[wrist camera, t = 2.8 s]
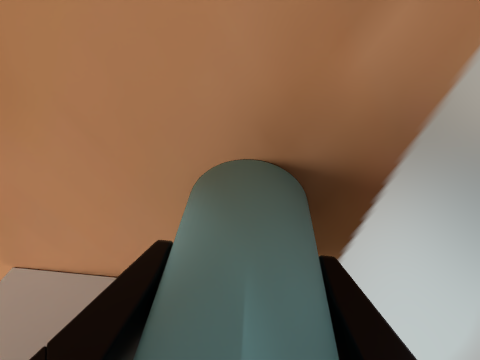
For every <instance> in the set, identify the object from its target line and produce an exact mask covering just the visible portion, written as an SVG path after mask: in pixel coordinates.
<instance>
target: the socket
mask: <svg viewBox="0 0 480 360" xmlns="http://www.w3.org/2000/svg"><path fill="white" fill-rule="evenodd" d="M115 279H116V278H113V277H103V276H93V275H83V274H73V273H63V272H52V271H42V270H32V269H22V268H12V269H11V270H10V271H9V272H8V273H7V274H6V275H5V277H4V278H3V279H2V280H1V281H0V360H29V359H30V358H31V357H33V356H34V355H35V354H36V353H37V352H38V351H39V350H40V349H41V348H42V347H43V346H46V347H47V343H48V342H49V341H50V340H51V339H52V338H53V337H54V336H55V335H56V334H57V333H58V332H60V331H61V330H62V329H63V328H64V327H65V326H66V325H67V324H68V323H69V322H70V321H71V320H72V319H73V318H75V317H76V316H77V315H78V314H79V313H80V312H81V311H82V310H83V309H84V308H85V307H86V306H87V305H88V304H90V303H91V302H92V301H93V300H94V299H95V298H96V297H97V296H98V295H99V294H100V293H101V292H102V291H103V290H105V289H106V288H107V287H108V286H109V285H110V284H111V283H112V282H113V281H114V280H115Z"/></svg>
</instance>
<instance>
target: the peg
mask: <svg viewBox="0 0 480 360" xmlns="http://www.w3.org/2000/svg"><path fill="white" fill-rule="evenodd" d="M133 360H339V357H338V352H337V347H336V342H335V337H334V332H333V327H332V322H331V317H330V312H329V306H328V301H327V296H326V291H325V286H324V281H323V276H322V271H321V266H320V261H319V256H318V251H317V246H316V241H315V236H314V231H313V226H312V221H311V216H310V211H309V206H308V201H307V197H306V194H305V191H304V190H303V188H302V186H301V185H300V183H299V182H298V181H297V180H296V179H295V178H294V177H293V176H292V175H291V174H289V173H288V172H287V171H285V170H284V169H282V168H280V167H278V166H276V165H273V164H271V163H267V162H263V161H258V160H234V161H229V162H226V163H222V164H219V165H217V166H215V167H213V168H211V169H210V170H208V171H207V172H206V173H204V174H203V175H202V176H201V177H200V178H199V179H198V180H197V182H196V183H195V185H194V186H193V188H192V191H191V193H190V196H189V199H188V202H187V205H186V208H185V211H184V214H183V217H182V220H181V222H180V225H179V228H178V231H177V234H176V237H175V240H174V243H173V246H172V249H171V251H170V254H169V257H168V260H167V263H166V266H165V269H164V272H163V275H162V278H161V281H160V283H159V286H158V289H157V292H156V295H155V298H154V301H153V304H152V307H151V310H150V313H149V315H148V318H147V321H146V324H145V327H144V330H143V333H142V336H141V339H140V342H139V344H138V347H137V350H136V353H135V356H134V359H133Z"/></svg>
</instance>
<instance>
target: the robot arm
mask: <svg viewBox="0 0 480 360" xmlns="http://www.w3.org/2000/svg"><path fill="white" fill-rule="evenodd" d="M172 246H173V242H172V241H166V240H158V241H156V242H155V243H154V244H153V245H152V246H151V247H150V248H148V249H147V250H146V251H145V252H144V253H143V254H142V255H141V256H140V257H139V258H138V259H137V260H136V261H135V262H133V263H132V264H131V265H130V266H129V267H128V268H127V269H126V270H125V271H124V272H123V273H122V274H121V275H120V276H118V277H117V278H116V279H115V280H114V281H113V282H112V283H111V284H110V285H109V286H108V287H107V288H106V289H105V290H103V291H102V292H101V293H100V294H99V295H98V296H97V297H96V298H95V299H94V300H93V301H92V302H91V303H90V304H88V305H87V306H86V307H85V308H84V309H83V310H82V311H81V312H80V313H79V314H78V315H77V316H76V317H75V318H73V319H72V320H71V321H70V322H69V323H68V324H67V325H66V326H65V327H64V328H63V329H62V330H61V331H60V332H58V333H57V334H56V335H55V336H54V337H53V338H52V339H51V340H50V341H49V342H48V343H47V347H46V346H43V347H42V348H41V349H40V350H39V351H38V352H37V353H36V354H35V355H34V356H33V357H31V358H30V359H29V360H133V359H134V356H135V353H136V350H137V347H138V344H139V342H140V339H141V336H142V333H143V330H144V327H145V324H146V321H147V318H148V315H149V313H150V310H151V307H152V304H153V301H154V298H155V295H156V292H157V289H158V286H159V283H160V281H161V278H162V275H163V272H164V269H165V266H166V263H167V260H168V257H169V254H170V251H171V249H172ZM319 261H320V266H321V271H322V276H323V281H324V286H325V291H326V296H327V301H328V306H329V312H330V317H331V322H332V327H333V332H334V337H335V342H336V347H337V352H338V357H339V360H417V359H416V358H415V357H414V355H413V354H412V353H411V352H410V351H409V349H408V348H407V347H406V345H405V344H404V343H403V342H402V340H401V339H400V338H399V337H398V336H397V334H396V333H395V332H394V331H393V329H392V328H391V327H390V325H389V324H388V323H387V322H386V320H385V319H384V318H383V317H382V316H381V314H380V313H379V312H378V310H377V309H376V308H375V307H374V305H373V304H372V303H371V302H370V300H369V299H368V298H367V297H366V295H365V294H364V293H363V292H362V290H361V289H360V288H359V287H358V285H357V284H356V283H355V282H354V280H353V279H352V278H351V277H350V275H349V274H348V273H347V272H346V270H345V269H344V268H343V267H342V265H341V264H340V263H339V262H338V260H337V259H336V258H335V257H332V256H319Z"/></svg>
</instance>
